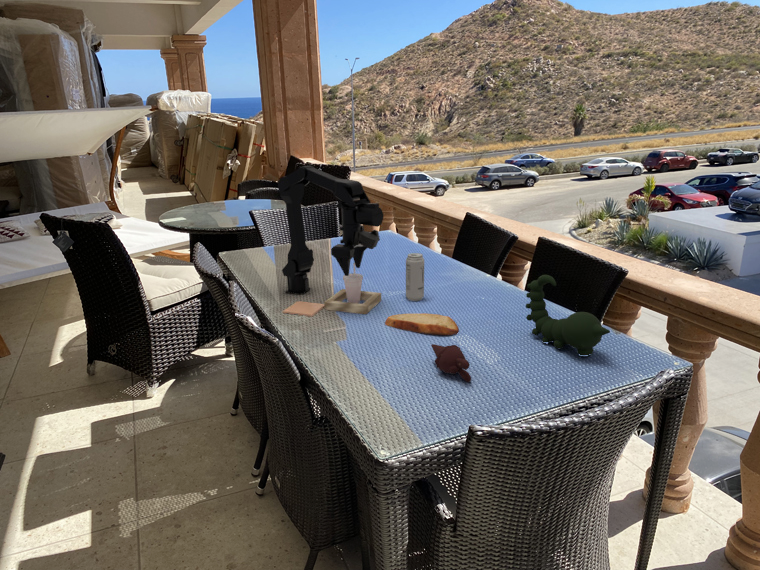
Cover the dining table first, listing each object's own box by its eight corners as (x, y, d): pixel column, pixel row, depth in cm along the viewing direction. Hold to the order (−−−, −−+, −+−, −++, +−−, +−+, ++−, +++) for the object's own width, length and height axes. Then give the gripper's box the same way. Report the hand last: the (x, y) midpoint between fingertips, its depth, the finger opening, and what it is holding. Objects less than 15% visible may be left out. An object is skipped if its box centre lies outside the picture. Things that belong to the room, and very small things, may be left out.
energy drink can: (422, 302, 172) (423, 257, 168) (404, 301, 174) (404, 256, 169) (424, 296, 178) (425, 253, 174) (407, 295, 179) (407, 252, 175)
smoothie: (361, 308, 167) (360, 266, 163) (341, 307, 168) (340, 265, 164) (365, 302, 173) (364, 260, 169) (346, 301, 174) (345, 259, 170)
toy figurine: (518, 341, 145) (595, 369, 124) (518, 274, 141) (598, 291, 120) (542, 334, 150) (621, 360, 129) (543, 269, 146) (624, 284, 125)
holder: (324, 309, 167) (324, 302, 166) (342, 295, 179) (342, 288, 178) (366, 314, 162) (365, 306, 161) (381, 300, 175) (381, 293, 174)
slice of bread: (381, 322, 157) (381, 310, 156) (435, 313, 163) (435, 302, 162) (405, 345, 141) (406, 331, 140) (464, 334, 147) (465, 322, 146)
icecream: (417, 339, 128) (453, 368, 115) (442, 327, 130) (480, 354, 118) (421, 362, 131) (457, 393, 119) (445, 349, 133) (483, 378, 121)
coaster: (282, 313, 164) (282, 311, 164) (298, 302, 173) (298, 301, 173) (311, 316, 161) (311, 314, 161) (325, 306, 170) (325, 304, 170)
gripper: (364, 230, 152) (365, 282, 156) (386, 219, 168) (386, 266, 173) (329, 228, 155) (331, 279, 160) (353, 217, 172) (354, 263, 177)
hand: (352, 271), depth 167 cm, fingers open, 9 cm apart
